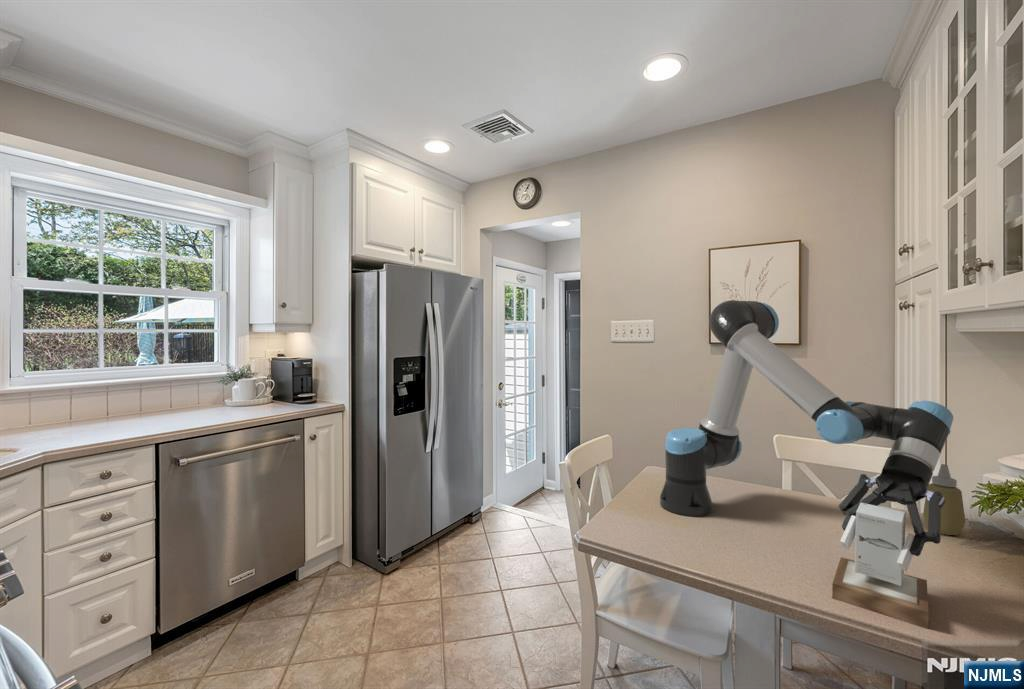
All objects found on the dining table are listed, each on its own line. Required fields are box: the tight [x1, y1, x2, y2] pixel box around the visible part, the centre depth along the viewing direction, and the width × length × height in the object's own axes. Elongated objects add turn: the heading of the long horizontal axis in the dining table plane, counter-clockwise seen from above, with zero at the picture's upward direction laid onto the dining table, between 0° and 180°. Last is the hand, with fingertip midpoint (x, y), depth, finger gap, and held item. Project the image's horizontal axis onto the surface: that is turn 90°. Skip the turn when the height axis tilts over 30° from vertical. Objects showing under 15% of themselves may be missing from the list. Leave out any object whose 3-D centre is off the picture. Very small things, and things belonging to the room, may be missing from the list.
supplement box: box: [854, 503, 907, 586], centre depth 88 cm, size 7×7×13 cm
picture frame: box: [831, 556, 930, 629], centre depth 89 cm, size 14×14×3 cm
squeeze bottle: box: [922, 463, 966, 536], centre depth 117 cm, size 8×8×18 cm
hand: (871, 555), depth 87 cm, fingers closed on supplement box, 9 cm apart
